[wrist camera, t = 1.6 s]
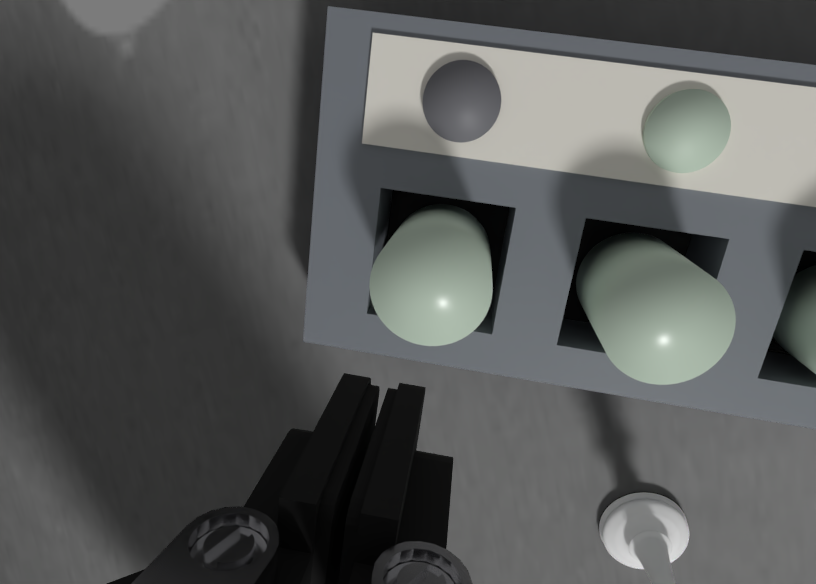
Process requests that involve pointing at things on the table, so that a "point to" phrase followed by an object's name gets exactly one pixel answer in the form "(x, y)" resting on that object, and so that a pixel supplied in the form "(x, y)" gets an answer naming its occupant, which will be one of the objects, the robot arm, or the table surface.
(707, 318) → the button middle
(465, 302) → the button left
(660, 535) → the chess piece
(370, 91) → the board
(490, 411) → the table surface
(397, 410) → the robot arm
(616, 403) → the table surface
